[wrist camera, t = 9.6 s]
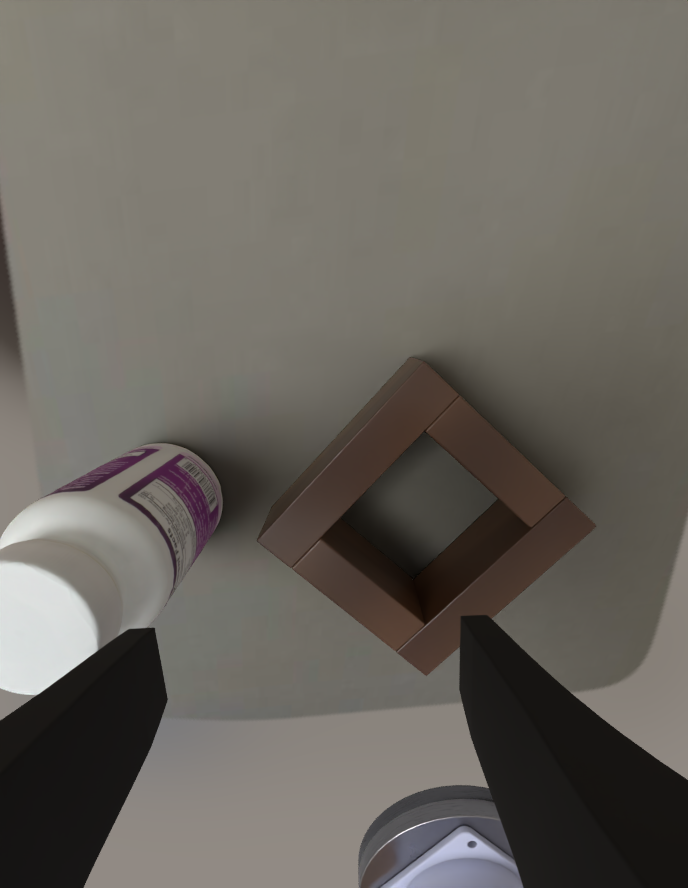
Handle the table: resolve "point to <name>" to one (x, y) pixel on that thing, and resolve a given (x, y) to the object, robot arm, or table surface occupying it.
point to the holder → (463, 562)
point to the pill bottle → (99, 559)
